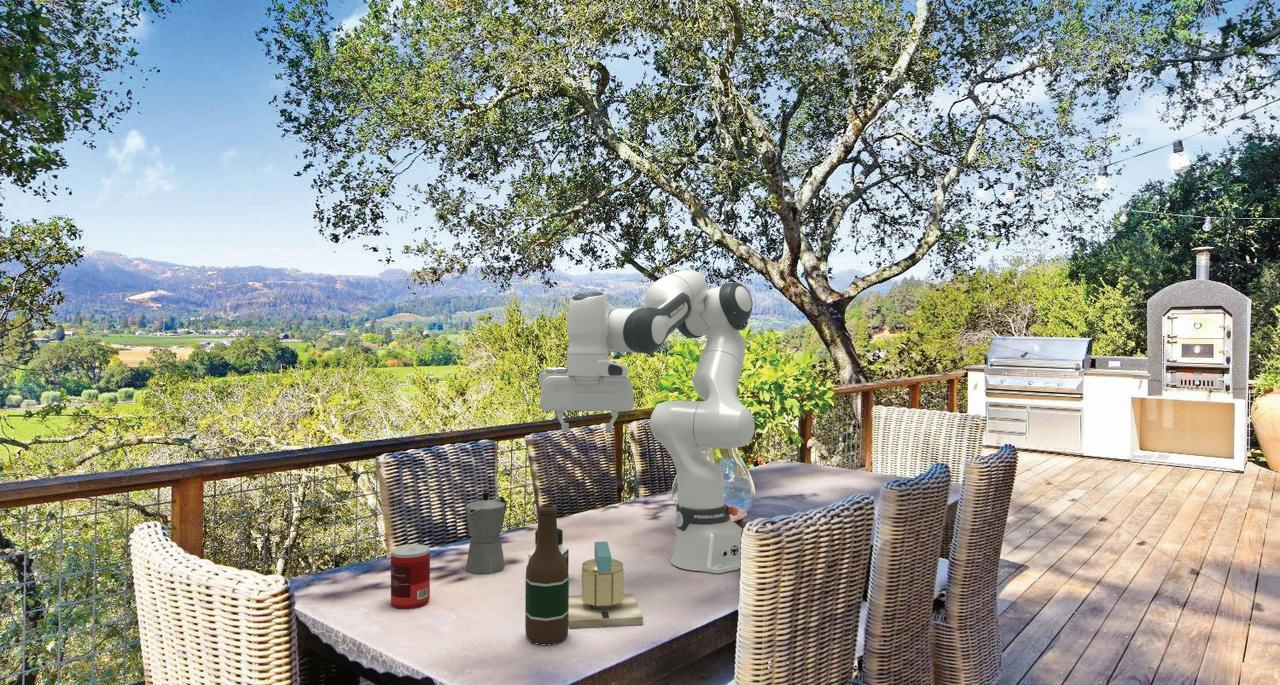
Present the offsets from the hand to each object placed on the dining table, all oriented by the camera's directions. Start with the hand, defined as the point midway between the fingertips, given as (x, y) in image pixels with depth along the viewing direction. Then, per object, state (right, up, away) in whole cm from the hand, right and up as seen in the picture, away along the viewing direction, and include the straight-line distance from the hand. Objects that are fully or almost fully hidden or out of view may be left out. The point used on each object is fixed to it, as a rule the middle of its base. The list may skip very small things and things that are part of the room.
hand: (587, 431), depth 170 cm
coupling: (+4, -31, -14) cm, 35 cm away
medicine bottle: (-9, -34, +5) cm, 36 cm away
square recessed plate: (+4, -34, -14) cm, 37 cm away
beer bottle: (-6, -35, -26) cm, 44 cm away
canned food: (-36, -34, -8) cm, 50 cm away
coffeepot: (-24, -34, +16) cm, 45 cm away
